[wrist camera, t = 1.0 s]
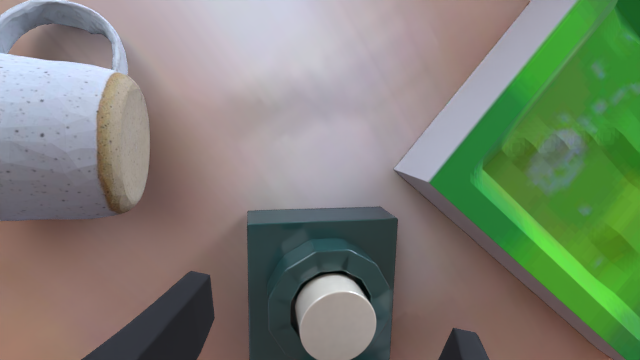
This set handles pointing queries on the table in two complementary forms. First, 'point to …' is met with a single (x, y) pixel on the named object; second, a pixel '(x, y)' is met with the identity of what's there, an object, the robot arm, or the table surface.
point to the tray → (551, 162)
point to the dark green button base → (316, 271)
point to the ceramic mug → (68, 124)
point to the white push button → (334, 318)
